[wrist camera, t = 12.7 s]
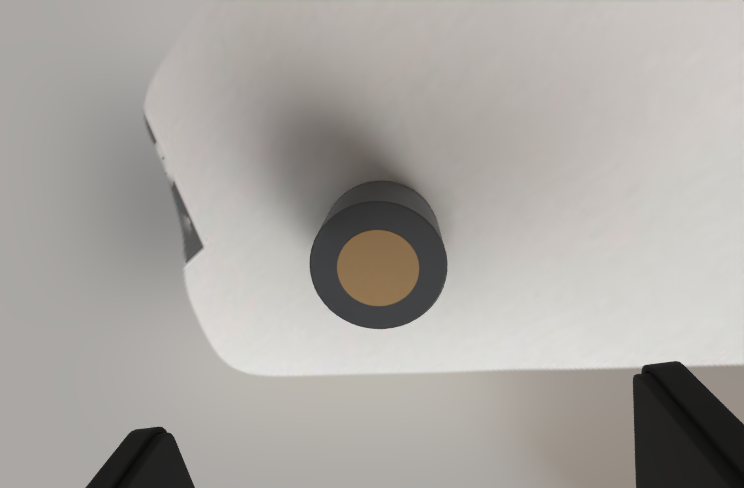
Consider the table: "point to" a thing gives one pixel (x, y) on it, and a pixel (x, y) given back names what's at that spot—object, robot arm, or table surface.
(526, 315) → the table surface
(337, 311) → the tape
